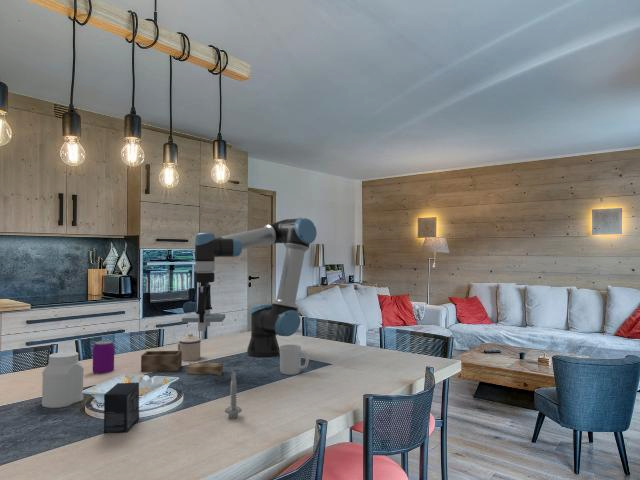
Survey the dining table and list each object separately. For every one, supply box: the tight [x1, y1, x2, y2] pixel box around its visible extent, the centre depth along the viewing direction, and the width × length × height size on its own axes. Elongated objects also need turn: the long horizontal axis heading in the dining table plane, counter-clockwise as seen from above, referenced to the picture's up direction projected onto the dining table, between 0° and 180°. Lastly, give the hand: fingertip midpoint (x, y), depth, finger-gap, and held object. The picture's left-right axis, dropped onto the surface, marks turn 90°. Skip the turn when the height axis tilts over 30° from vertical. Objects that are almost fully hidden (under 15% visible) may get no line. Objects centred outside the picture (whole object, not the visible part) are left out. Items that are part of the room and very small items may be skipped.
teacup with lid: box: [177, 333, 202, 362], centre depth 203 cm, size 12×9×12 cm
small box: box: [103, 382, 140, 434], centre depth 127 cm, size 11×6×10 cm, turn 5°
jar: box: [41, 351, 85, 409], centre depth 146 cm, size 12×10×15 cm
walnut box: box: [140, 350, 183, 373], centre depth 185 cm, size 14×8×7 cm, turn 96°
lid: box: [181, 313, 226, 323], centre depth 181 cm, size 15×10×2 cm
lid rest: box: [186, 362, 224, 377], centre depth 180 cm, size 13×6×4 cm, turn 96°
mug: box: [279, 344, 310, 376], centre depth 183 cm, size 12×8×10 cm
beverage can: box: [92, 340, 115, 375], centre depth 181 cm, size 8×8×12 cm
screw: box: [224, 371, 242, 420], centre depth 134 cm, size 13×5×5 cm
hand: (204, 328), depth 181 cm, fingers closed on lid, 10 cm apart
